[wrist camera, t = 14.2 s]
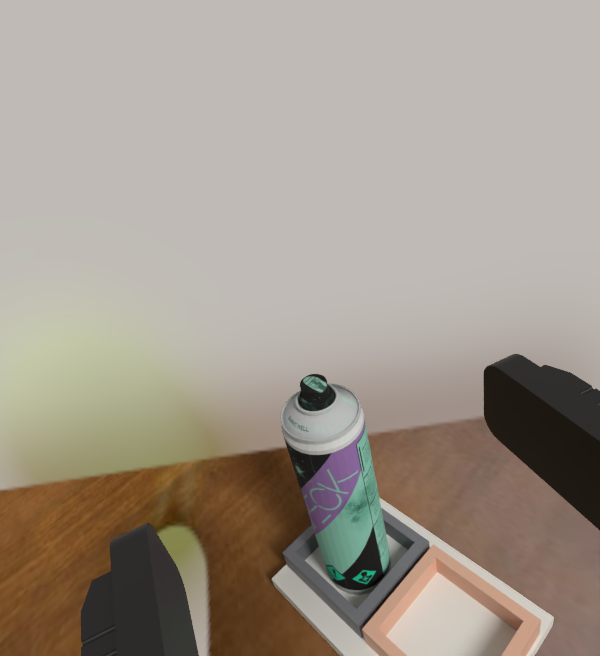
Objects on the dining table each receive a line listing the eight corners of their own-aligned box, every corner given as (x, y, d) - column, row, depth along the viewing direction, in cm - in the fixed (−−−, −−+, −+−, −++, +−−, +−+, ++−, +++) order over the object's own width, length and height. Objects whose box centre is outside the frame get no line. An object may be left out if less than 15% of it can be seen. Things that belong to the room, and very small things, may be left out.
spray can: (330, 531, 44) (280, 357, 33) (391, 534, 43) (359, 352, 32) (321, 592, 40) (260, 414, 29) (389, 597, 38) (351, 412, 27)
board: (458, 781, 30) (457, 763, 28) (274, 586, 42) (265, 566, 40) (552, 625, 35) (555, 602, 34) (366, 495, 48) (361, 473, 46)
